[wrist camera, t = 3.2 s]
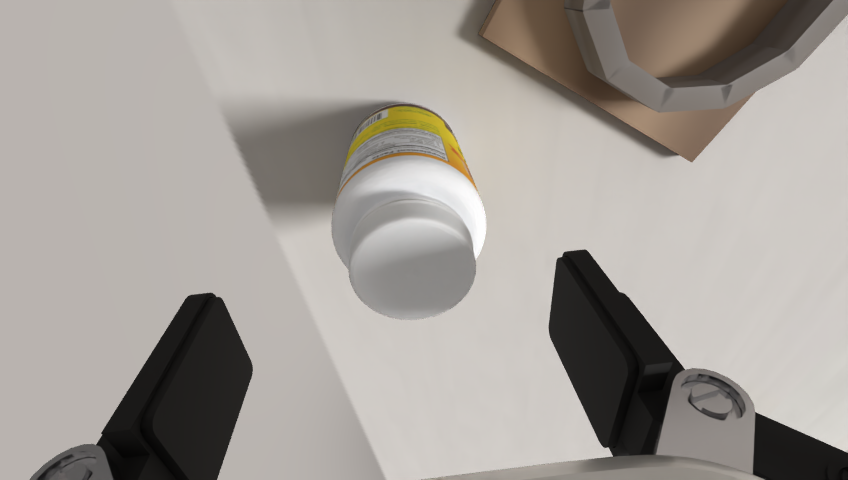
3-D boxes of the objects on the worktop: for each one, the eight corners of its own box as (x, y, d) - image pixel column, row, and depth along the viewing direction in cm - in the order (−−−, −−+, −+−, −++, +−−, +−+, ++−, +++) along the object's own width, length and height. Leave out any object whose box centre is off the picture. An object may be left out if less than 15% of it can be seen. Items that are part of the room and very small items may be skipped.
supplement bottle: (447, 206, 23) (480, 344, 14) (347, 196, 22) (319, 335, 13) (467, 106, 20) (524, 204, 11) (353, 90, 19) (320, 183, 10)
